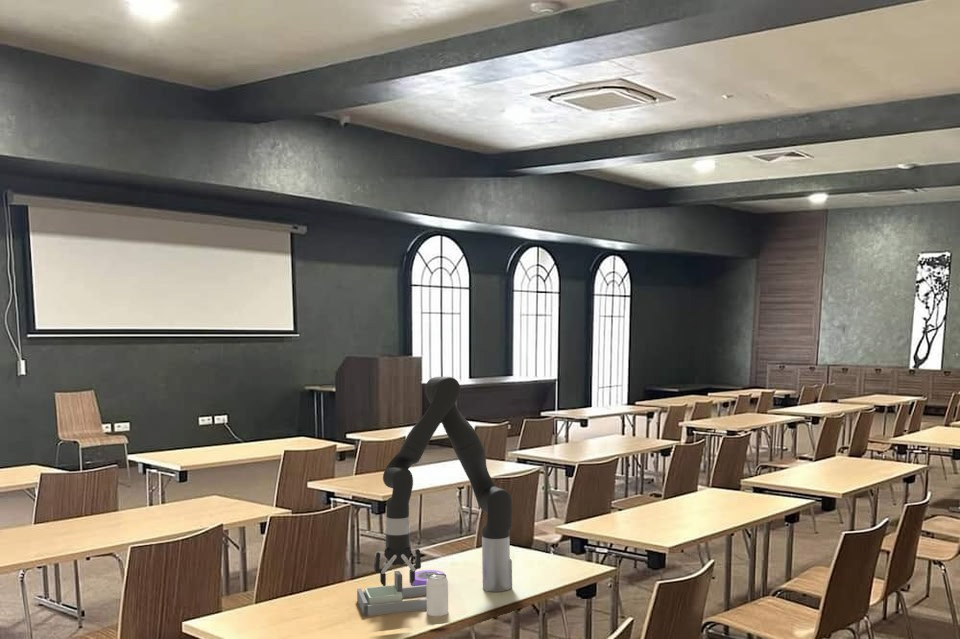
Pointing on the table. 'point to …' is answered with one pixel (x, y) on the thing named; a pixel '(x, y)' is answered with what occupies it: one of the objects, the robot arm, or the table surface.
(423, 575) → the masking tape
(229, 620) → the table surface
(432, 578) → the can
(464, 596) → the table surface
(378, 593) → the sliding tray
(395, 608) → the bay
